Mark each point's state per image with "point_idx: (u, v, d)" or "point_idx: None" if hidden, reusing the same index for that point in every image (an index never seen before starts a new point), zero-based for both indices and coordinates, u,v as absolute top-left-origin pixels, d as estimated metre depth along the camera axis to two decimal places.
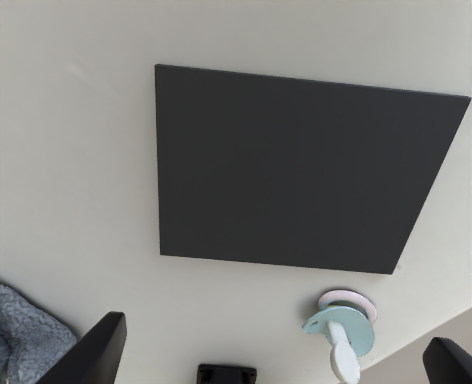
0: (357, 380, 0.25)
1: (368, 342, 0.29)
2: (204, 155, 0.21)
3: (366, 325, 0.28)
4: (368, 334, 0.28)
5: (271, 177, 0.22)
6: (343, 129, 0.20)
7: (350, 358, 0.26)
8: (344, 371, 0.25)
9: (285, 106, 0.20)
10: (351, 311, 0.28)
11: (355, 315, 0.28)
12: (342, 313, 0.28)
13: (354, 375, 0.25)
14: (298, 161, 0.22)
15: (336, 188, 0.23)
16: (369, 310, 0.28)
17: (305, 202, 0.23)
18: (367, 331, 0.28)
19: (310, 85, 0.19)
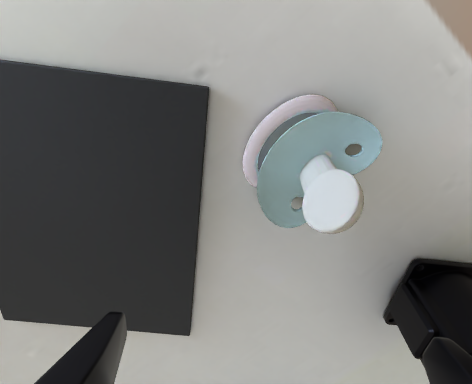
0: (353, 200, 0.13)
1: (349, 120, 0.15)
2: (68, 297, 0.23)
3: (310, 123, 0.16)
4: (330, 120, 0.15)
5: (76, 249, 0.21)
6: (1, 189, 0.19)
7: (326, 190, 0.14)
8: (325, 221, 0.14)
9: None
10: (275, 151, 0.17)
11: (286, 142, 0.16)
12: (282, 162, 0.17)
13: (343, 202, 0.13)
14: (51, 226, 0.20)
15: (72, 187, 0.19)
16: (284, 115, 0.16)
17: (99, 217, 0.20)
18: (324, 121, 0.16)
19: None
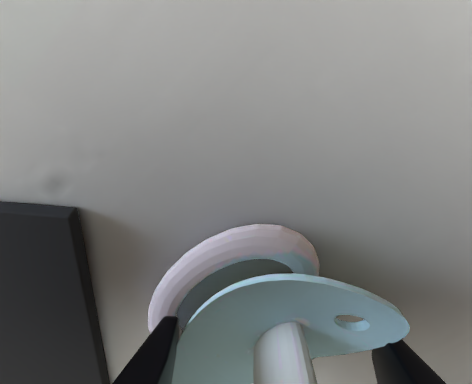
0: None
1: (336, 291, 0.07)
2: None
3: (259, 288, 0.08)
4: (297, 286, 0.07)
5: None
6: None
7: None
8: None
9: None
10: (197, 328, 0.09)
11: (217, 312, 0.08)
12: (215, 339, 0.09)
13: None
14: None
15: None
16: (207, 264, 0.08)
17: None
18: (286, 287, 0.07)
19: None
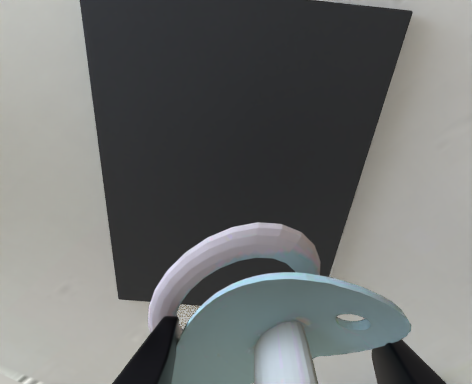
0: None
1: (337, 290, 0.07)
2: None
3: (259, 287, 0.08)
4: (298, 285, 0.07)
5: (216, 215, 0.19)
6: (148, 144, 0.17)
7: None
8: None
9: (133, 205, 0.19)
10: (198, 327, 0.09)
11: (218, 312, 0.08)
12: (216, 338, 0.09)
13: None
14: (193, 188, 0.18)
15: (228, 140, 0.17)
16: (208, 263, 0.08)
17: (250, 176, 0.18)
18: (287, 286, 0.07)
19: (108, 185, 0.18)
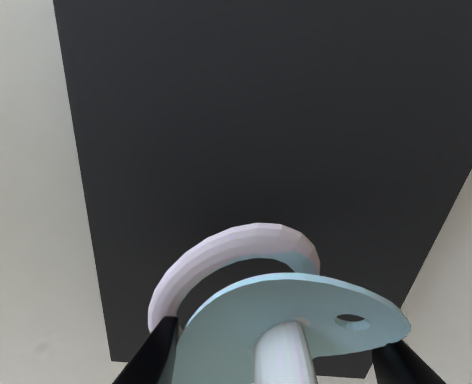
0: None
1: (337, 291, 0.07)
2: None
3: (259, 287, 0.08)
4: (298, 285, 0.07)
5: (243, 263, 0.14)
6: (151, 171, 0.12)
7: None
8: None
9: (130, 250, 0.14)
10: (197, 327, 0.09)
11: (217, 312, 0.08)
12: (215, 338, 0.09)
13: None
14: (214, 229, 0.13)
15: (267, 165, 0.12)
16: (208, 263, 0.08)
17: (294, 213, 0.13)
18: (286, 286, 0.07)
19: (95, 224, 0.13)
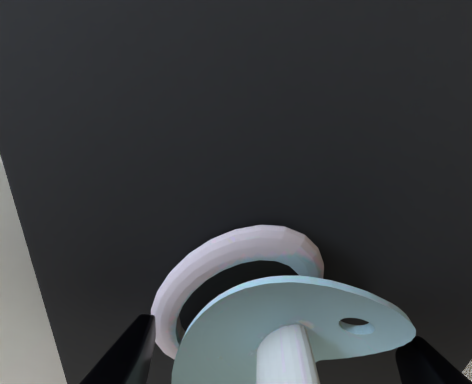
0: None
1: (341, 294, 0.07)
2: None
3: (262, 290, 0.08)
4: (301, 288, 0.07)
5: None
6: (120, 229, 0.09)
7: None
8: None
9: (98, 324, 0.10)
10: (200, 330, 0.08)
11: (220, 314, 0.08)
12: (218, 340, 0.09)
13: None
14: (209, 300, 0.10)
15: (282, 223, 0.08)
16: (211, 265, 0.08)
17: None
18: (290, 289, 0.07)
19: (48, 293, 0.10)
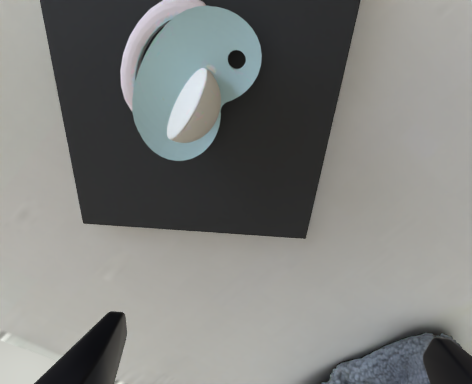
0: (198, 92, 0.11)
1: (215, 16, 0.13)
2: (165, 185, 0.19)
3: (177, 28, 0.14)
4: (197, 20, 0.13)
5: None
6: (100, 11, 0.15)
7: (183, 94, 0.12)
8: (175, 125, 0.11)
9: (89, 97, 0.16)
10: (147, 68, 0.14)
11: (158, 56, 0.14)
12: (160, 83, 0.15)
13: (191, 98, 0.11)
14: None
15: None
16: (151, 22, 0.14)
17: None
18: (191, 23, 0.13)
19: (58, 69, 0.16)
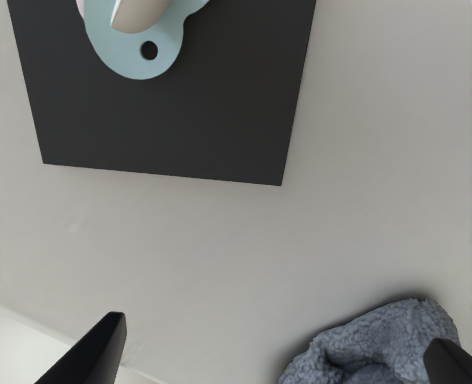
0: None
1: None
2: (129, 120, 0.18)
3: None
4: None
5: None
6: None
7: None
8: (115, 4, 0.10)
9: (42, 11, 0.15)
10: None
11: None
12: None
13: None
14: None
15: None
16: None
17: None
18: None
19: None
